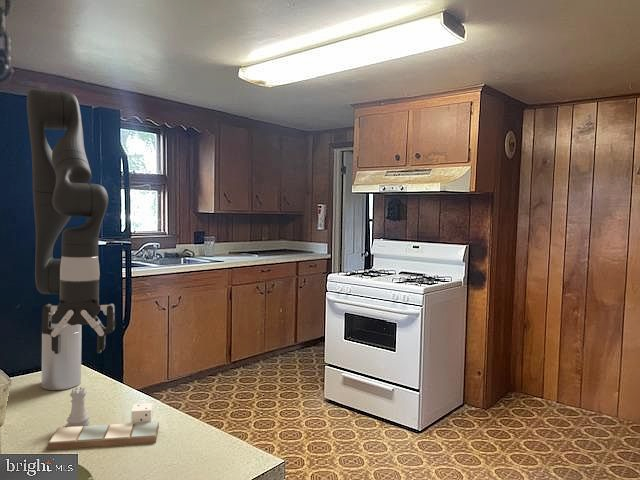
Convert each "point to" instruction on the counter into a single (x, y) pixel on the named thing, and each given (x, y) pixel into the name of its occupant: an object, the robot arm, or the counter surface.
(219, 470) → the counter surface
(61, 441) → the board
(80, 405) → the rook chess piece
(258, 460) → the counter surface
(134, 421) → the die
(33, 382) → the counter surface
